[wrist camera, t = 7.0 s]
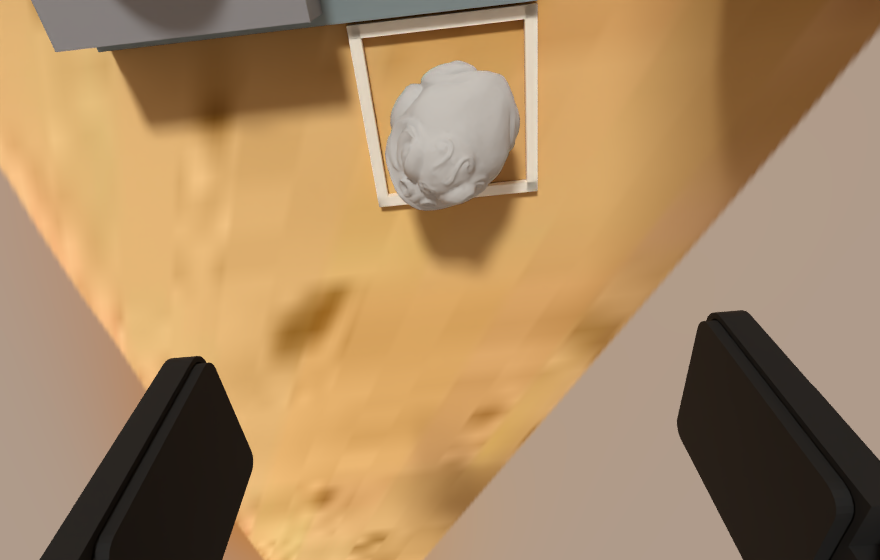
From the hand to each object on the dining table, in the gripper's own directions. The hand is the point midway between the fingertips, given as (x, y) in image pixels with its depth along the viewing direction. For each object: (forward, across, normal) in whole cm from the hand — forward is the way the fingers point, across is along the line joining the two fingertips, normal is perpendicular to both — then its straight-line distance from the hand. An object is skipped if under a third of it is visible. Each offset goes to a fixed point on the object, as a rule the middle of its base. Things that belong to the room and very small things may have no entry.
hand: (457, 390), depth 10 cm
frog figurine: (+21, -1, 0) cm, 21 cm away
